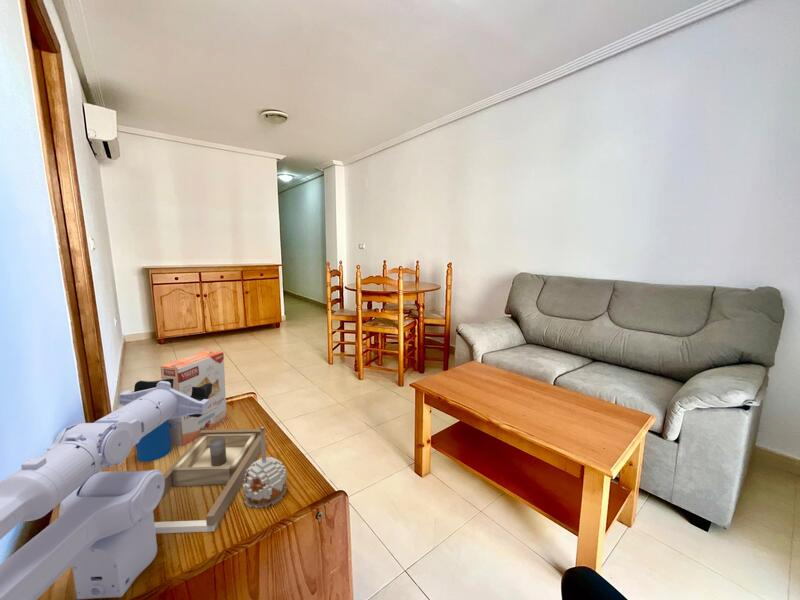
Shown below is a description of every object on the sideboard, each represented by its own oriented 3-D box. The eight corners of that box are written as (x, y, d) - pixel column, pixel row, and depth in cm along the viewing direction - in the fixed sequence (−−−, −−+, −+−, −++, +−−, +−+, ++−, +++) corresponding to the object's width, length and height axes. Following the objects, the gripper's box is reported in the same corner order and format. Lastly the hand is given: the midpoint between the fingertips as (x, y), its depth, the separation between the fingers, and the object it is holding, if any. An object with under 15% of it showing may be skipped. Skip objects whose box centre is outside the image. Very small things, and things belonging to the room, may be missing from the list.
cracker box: (184, 450, 81) (177, 368, 78) (166, 445, 83) (158, 365, 79) (229, 421, 94) (224, 350, 91) (212, 418, 96) (206, 348, 93)
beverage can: (166, 445, 83) (162, 399, 81) (175, 455, 79) (171, 408, 77) (134, 457, 78) (128, 409, 76) (142, 469, 74) (136, 418, 72)
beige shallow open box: (234, 484, 68) (232, 458, 67) (173, 486, 67) (170, 460, 67) (257, 447, 81) (255, 424, 80) (206, 448, 80) (204, 425, 79)
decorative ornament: (236, 500, 65) (231, 429, 63) (271, 478, 71) (268, 413, 69) (259, 519, 61) (255, 444, 58) (294, 494, 67) (292, 425, 65)
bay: (214, 535, 57) (212, 510, 56) (123, 539, 56) (120, 514, 55) (265, 446, 83) (264, 428, 82) (203, 448, 82) (201, 429, 81)
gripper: (191, 397, 54) (229, 371, 68) (98, 386, 53) (155, 362, 67) (187, 437, 55) (225, 404, 69) (95, 428, 54) (153, 395, 68)
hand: (190, 385), depth 68 cm, fingers open, 7 cm apart
